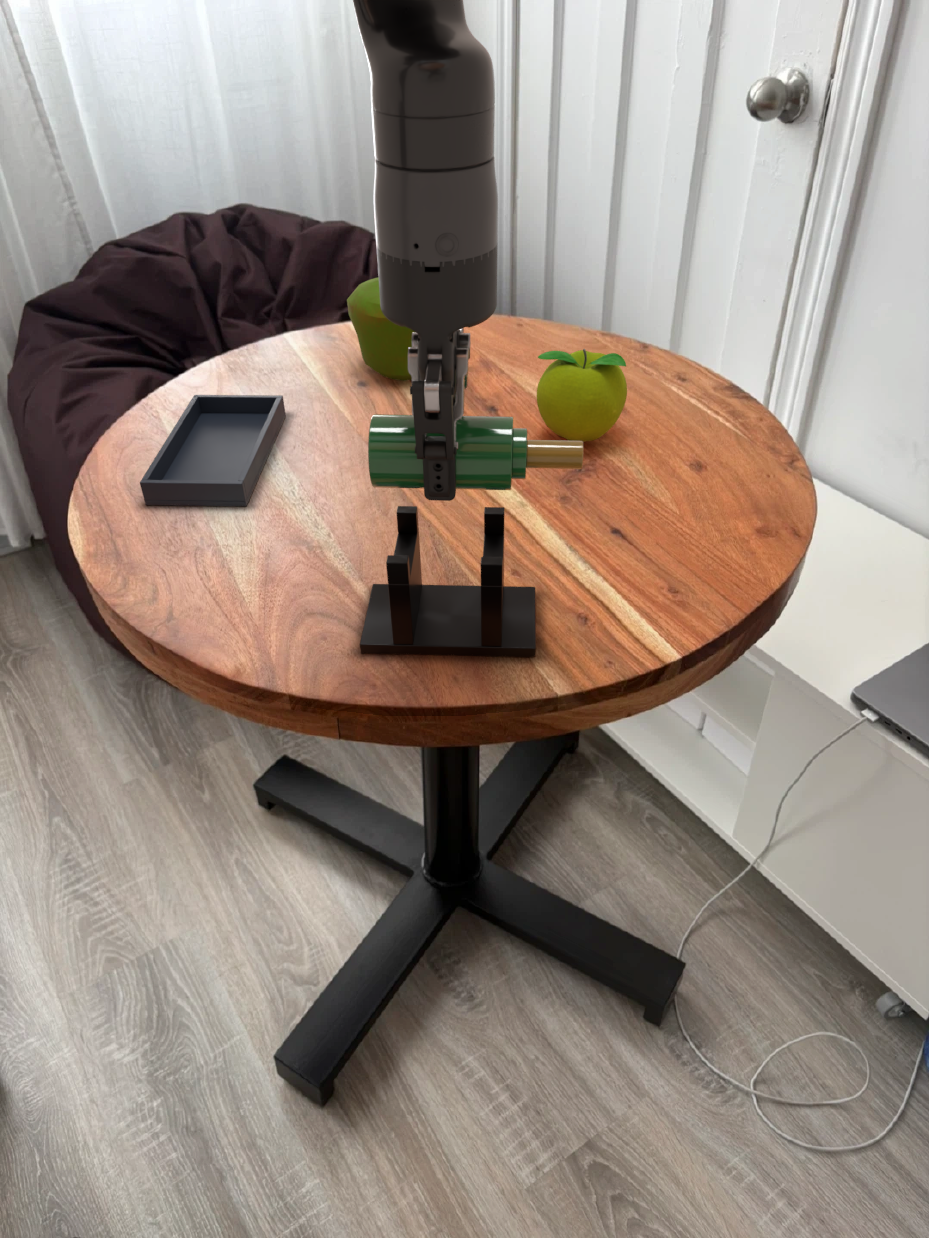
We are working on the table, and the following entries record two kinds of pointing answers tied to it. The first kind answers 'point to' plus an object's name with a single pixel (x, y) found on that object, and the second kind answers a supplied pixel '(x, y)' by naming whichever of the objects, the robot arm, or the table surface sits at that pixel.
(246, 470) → the tray
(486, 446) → the green bottle
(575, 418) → the fruit
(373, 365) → the apple
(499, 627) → the rack
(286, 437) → the table surface
